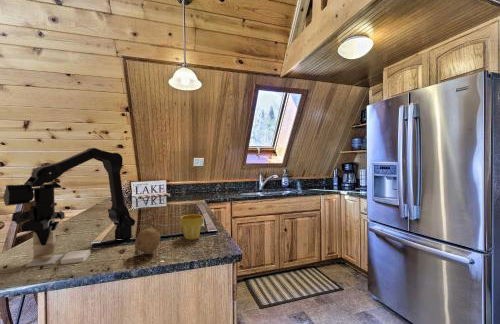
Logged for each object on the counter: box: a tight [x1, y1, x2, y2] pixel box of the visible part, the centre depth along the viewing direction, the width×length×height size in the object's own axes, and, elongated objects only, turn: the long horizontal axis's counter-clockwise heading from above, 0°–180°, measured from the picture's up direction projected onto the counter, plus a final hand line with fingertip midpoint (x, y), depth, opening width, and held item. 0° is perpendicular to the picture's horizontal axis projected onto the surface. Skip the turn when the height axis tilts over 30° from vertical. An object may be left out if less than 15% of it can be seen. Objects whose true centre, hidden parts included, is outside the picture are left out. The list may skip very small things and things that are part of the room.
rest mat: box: [25, 253, 64, 268], centre depth 91 cm, size 8×8×1 cm
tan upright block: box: [32, 229, 57, 260], centre depth 91 cm, size 6×5×9 cm
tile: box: [60, 249, 91, 265], centre depth 93 cm, size 7×2×8 cm
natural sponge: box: [134, 228, 161, 256], centre depth 97 cm, size 9×9×10 cm
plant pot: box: [180, 214, 204, 240], centre depth 117 cm, size 10×10×10 cm
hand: (45, 244), depth 91 cm, fingers closed on tan upright block
